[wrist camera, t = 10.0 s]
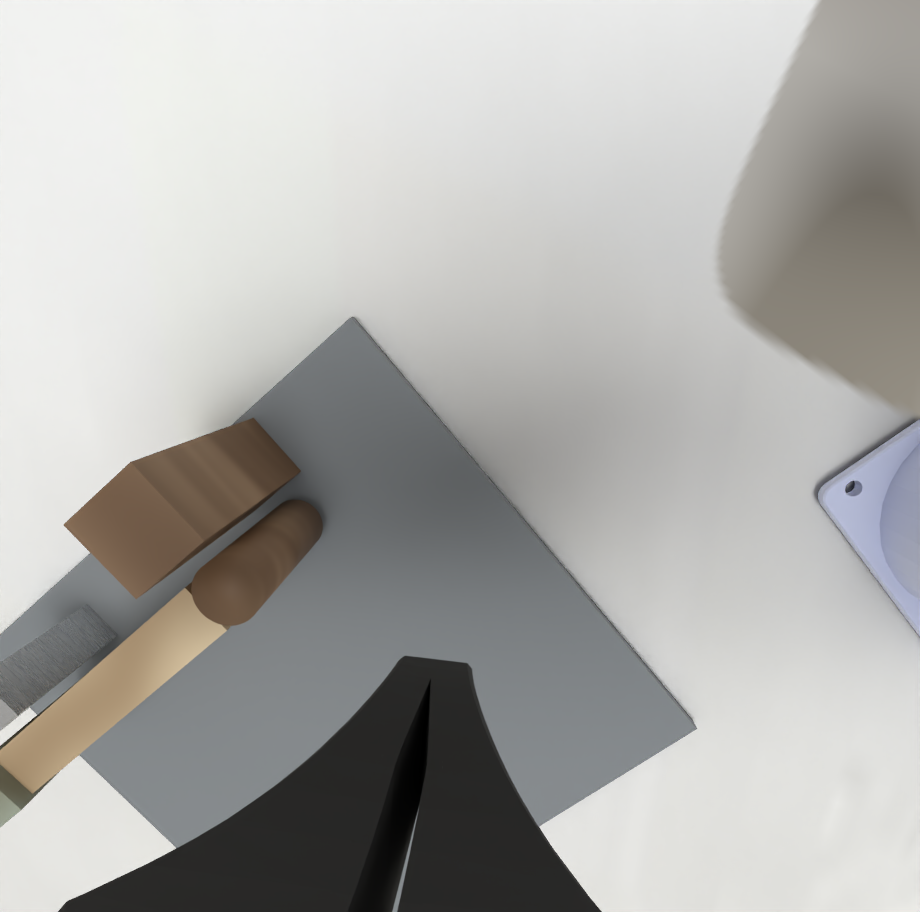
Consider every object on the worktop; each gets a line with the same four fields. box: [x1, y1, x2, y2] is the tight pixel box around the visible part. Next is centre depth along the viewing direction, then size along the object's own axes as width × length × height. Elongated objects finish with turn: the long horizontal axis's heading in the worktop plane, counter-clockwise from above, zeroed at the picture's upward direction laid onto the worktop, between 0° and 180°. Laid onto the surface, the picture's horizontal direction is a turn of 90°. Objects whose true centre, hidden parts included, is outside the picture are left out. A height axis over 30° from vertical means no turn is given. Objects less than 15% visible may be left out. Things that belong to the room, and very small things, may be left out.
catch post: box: [0, 604, 118, 731], centre depth 19 cm, size 2×2×5 cm
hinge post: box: [64, 418, 301, 599], centre depth 17 cm, size 2×2×7 cm
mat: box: [0, 317, 697, 912], centre depth 22 cm, size 20×19×1 cm
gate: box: [0, 500, 323, 827], centre depth 18 cm, size 2×12×5 cm, turn 131°
